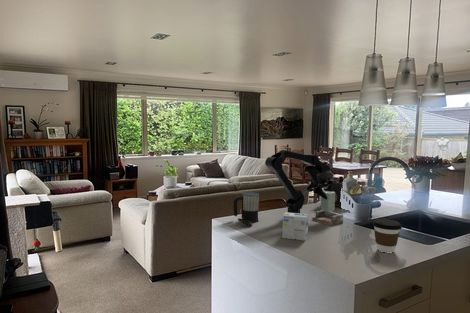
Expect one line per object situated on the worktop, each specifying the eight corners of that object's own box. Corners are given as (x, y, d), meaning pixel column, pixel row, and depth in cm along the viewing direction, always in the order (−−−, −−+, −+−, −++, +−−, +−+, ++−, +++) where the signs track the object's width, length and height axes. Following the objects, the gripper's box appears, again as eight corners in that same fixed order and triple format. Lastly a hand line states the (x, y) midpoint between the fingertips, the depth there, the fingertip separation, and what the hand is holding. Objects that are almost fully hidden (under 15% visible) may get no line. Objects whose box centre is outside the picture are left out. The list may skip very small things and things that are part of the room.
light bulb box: (307, 236, 153) (308, 213, 152) (305, 241, 147) (306, 217, 146) (284, 234, 157) (285, 211, 156) (281, 238, 150) (282, 215, 149)
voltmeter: (359, 206, 215) (360, 175, 214) (341, 209, 207) (342, 177, 205) (340, 201, 229) (341, 172, 228) (322, 203, 221) (323, 174, 219)
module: (328, 211, 175) (328, 193, 174) (320, 209, 180) (321, 191, 179) (334, 210, 178) (335, 192, 177) (327, 208, 182) (327, 190, 181)
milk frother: (254, 217, 185) (255, 191, 183) (267, 225, 170) (267, 197, 169) (230, 220, 180) (230, 192, 178) (241, 228, 165) (241, 198, 164)
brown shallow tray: (330, 225, 171) (330, 217, 171) (312, 219, 182) (312, 212, 181) (342, 222, 177) (343, 214, 177) (324, 217, 187) (324, 209, 187)
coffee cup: (386, 257, 129) (388, 227, 128) (365, 248, 139) (366, 220, 138) (406, 253, 134) (408, 224, 133) (384, 244, 144) (386, 217, 143)
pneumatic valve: (333, 211, 202) (334, 191, 201) (316, 207, 209) (316, 189, 208) (337, 209, 206) (338, 190, 205) (319, 206, 213) (320, 187, 212)
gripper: (311, 167, 175) (327, 191, 167) (335, 165, 185) (350, 188, 177) (300, 180, 182) (314, 203, 174) (323, 177, 192) (338, 200, 184)
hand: (330, 198), depth 177 cm, fingers closed on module, 5 cm apart
